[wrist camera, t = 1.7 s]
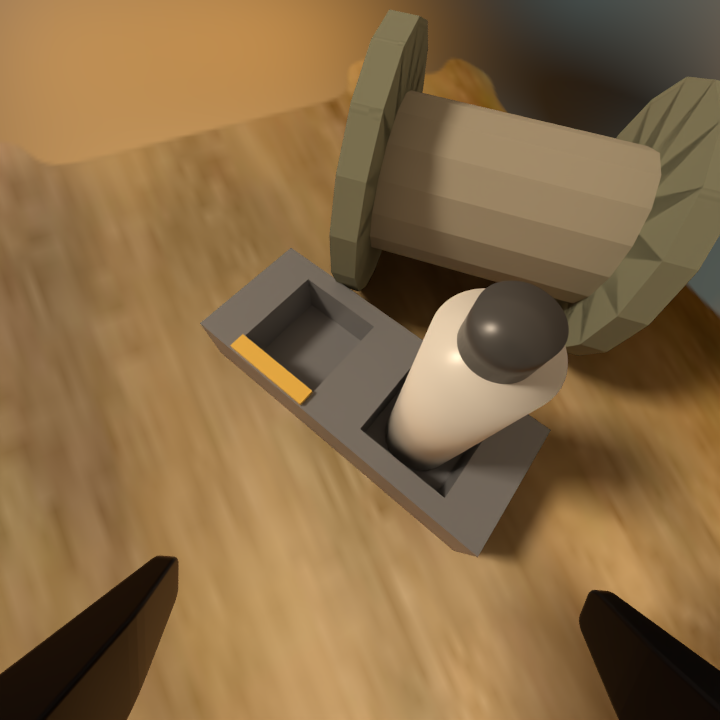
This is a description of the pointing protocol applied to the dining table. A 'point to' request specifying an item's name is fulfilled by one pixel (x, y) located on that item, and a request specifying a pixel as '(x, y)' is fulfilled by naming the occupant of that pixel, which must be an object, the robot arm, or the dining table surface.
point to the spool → (527, 193)
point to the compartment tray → (364, 394)
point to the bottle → (478, 372)
